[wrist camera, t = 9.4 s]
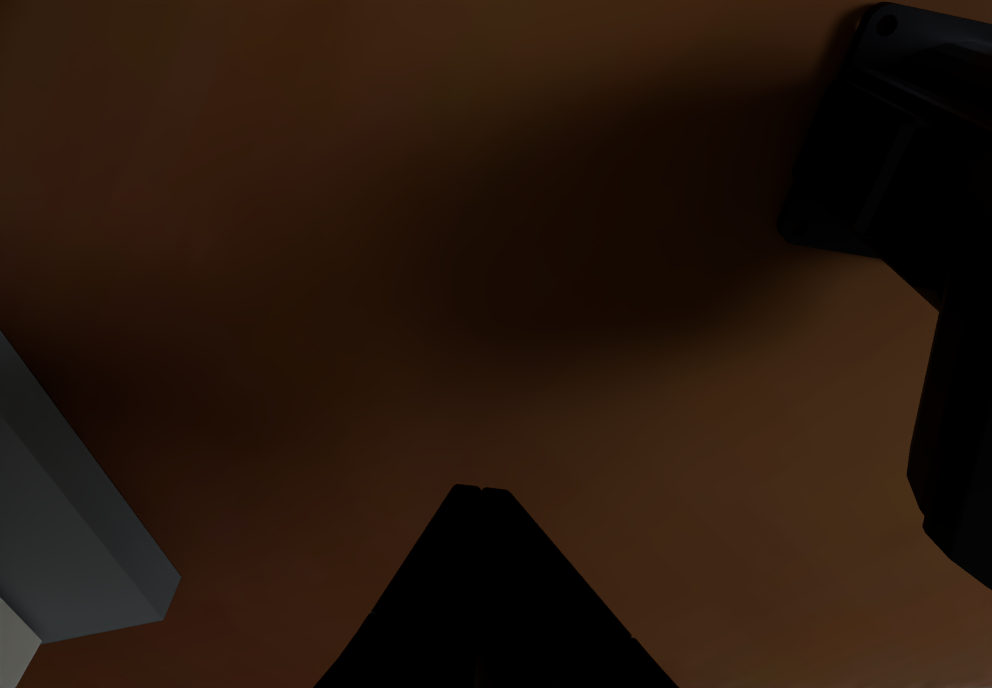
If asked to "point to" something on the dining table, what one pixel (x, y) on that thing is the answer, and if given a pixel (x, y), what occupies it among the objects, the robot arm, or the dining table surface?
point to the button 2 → (14, 646)
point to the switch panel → (67, 525)
